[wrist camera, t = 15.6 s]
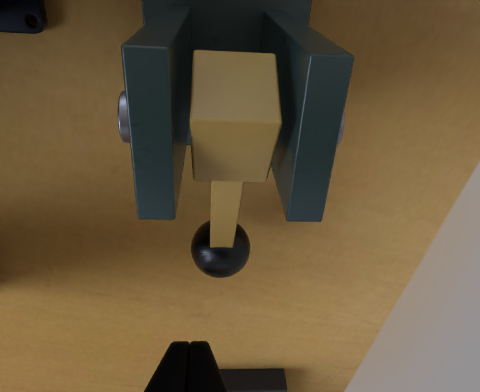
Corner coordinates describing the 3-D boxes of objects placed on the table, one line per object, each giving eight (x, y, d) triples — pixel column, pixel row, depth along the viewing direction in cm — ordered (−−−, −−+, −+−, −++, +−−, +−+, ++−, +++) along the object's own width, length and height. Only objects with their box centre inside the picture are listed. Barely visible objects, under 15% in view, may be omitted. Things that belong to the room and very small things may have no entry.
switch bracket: (288, 139, 20) (344, 271, 12) (154, 135, 20) (106, 271, 11) (310, -37, 16) (425, -39, 7) (142, -48, 16) (52, -64, 7)
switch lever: (246, 232, 22) (248, 284, 20) (192, 231, 21) (190, 284, 20) (290, 45, 10) (300, 133, 9) (178, 39, 10) (170, 130, 9)
